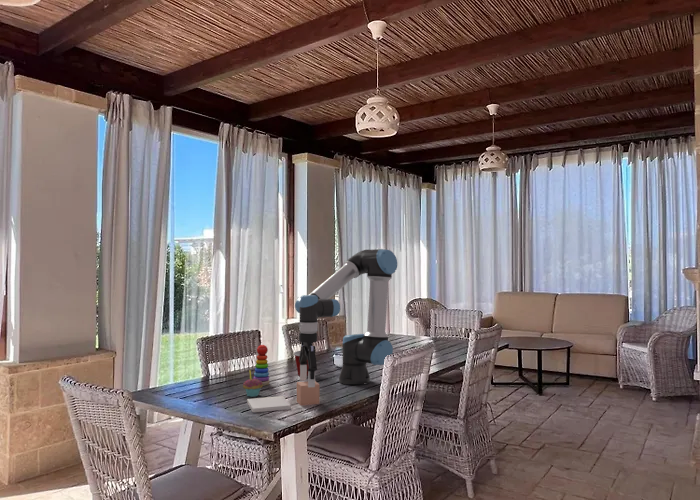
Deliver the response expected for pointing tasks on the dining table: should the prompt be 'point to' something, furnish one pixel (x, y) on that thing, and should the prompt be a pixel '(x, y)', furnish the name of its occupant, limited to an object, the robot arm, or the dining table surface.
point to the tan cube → (308, 393)
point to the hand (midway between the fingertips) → (307, 383)
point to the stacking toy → (262, 366)
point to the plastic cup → (297, 355)
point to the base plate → (268, 404)
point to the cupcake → (252, 386)
